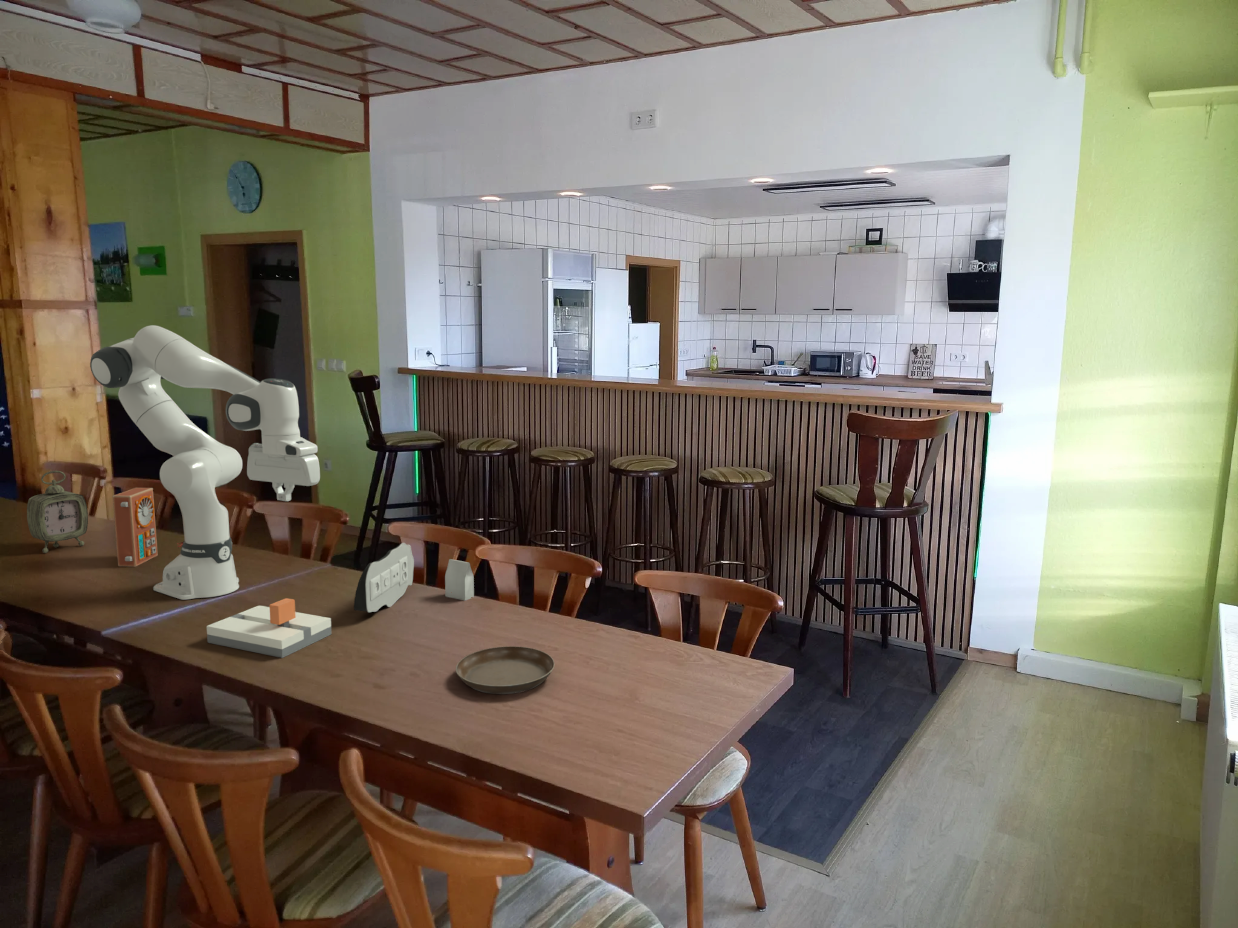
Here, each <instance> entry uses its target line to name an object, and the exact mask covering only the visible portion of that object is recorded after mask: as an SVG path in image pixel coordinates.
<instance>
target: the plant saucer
mask: <svg viewBox="0 0 1238 928" xmlns="http://www.w3.org/2000/svg"><path fill="white" fill-rule="evenodd" d="M555 666H556V665H555V660H554V658H553V657H552V656H551V655H550V654H548V653H547V652H545V651H542V650H540V649H536V648H533V647H526V646H514V645H513V646H512V645H510V646H507V645H506V646H496V647H489V648H485V649H480V650H477V651H474V652H472V653H470V654H467V655H466V656H464V657H462V658H461V659H460V660H459V661H458V662H457V664H456V666H455V672H456V674H457V676H458V677H459V678H460V680H461V681H462V682H463V683H465V684H466V685H467V686H468V687H470V688H471V689H473V690H475V691H478V692H481V693H483V694H484V693H485V694H492V695H493V694H494V695H512V694H519V693H523V692H527V691H530V690H532V689H534V688H536V687H538V686H540V685H541V684H542V683H543V682H545V681H546V679H547V678H549V677H550V676H551V673H552V672H553V670H554V668H555Z"/></svg>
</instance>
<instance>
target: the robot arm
mask: <svg viewBox="0 0 1238 928" xmlns="http://www.w3.org/2000/svg"><path fill="white" fill-rule="evenodd" d="M89 367H90V371H91V374H92V375H93V378H95V380H96V382H98V383H99V385H102V386H103V387H105V388H107V389H118V388H119V389H118V399H119V402H120V404H121V405H122V408H124V410H125V412H126V413H127V415H128V416H129V418H130V419H131V421H132V422H133V423H134V424H135V425H136V427H138V429H139V430H140V431H141V433H142V434H143V435H144V436H145V437H146V438H147V440H148V441H149V442H150V443H151V444H152V446H153V447H155V448H156V449H157V450H159V451H161V452H164V453H167V454H169V455H172V457H170V458H168V459H167V460H166V461H165V462H163V463H162V465H161V467H160V469H159V480H160V482H161V484H162V486H163V488H164V489H165V490H166V491H168V492H170V493H171V494H172V495H173V496H174V498H175V499H176V501H177V504H178V505H179V509H180V512H181V515H182V524H183V535H184V540H183V541H181V542H177V543H176V544H177V548H180V554H179V555H178V556H176V557H175V558H174V559H173V560H171V561H170V562H169V563H168V564H167V565H165V567H164V568H163V571H162V581H159V583H156V584H155V585H154V586H153V587H152V589H153V591H154V592H158V593H160V594H164V595H167V596H169V597H172V598H175V599H176V598H177V599H179V600H181V601H182V600H191V599H200V598H201V599H202V598H203V599H204V598H213V597H219V596H224V595H228V594H230V593H233V592H235V591H237V590H239V588H240V584H239V582H240V579H239V577H238V576H237V571H236V567H235V561H234V556H233V554H232V551H233V542H232V541H233V540H232V538H231V535H230V523H229V520H230V519H229V511H228V509H227V507H225V506H224V505H223V504H221V503H220V501H219V500H218V497H217V494H216V489H215V488H216V487H221V486H224V485H227V484H228V483H230V482H231V481H233V480H235V478H237V477H238V476H239V475H240V474H241V472H242V469H243V459H242V457H241V454H240V453H239V452H238V451H237V450H236V449H235V448H233V447H231V446H229V445H226V444H224V443H221V442H219V441H218V440H216V439H215V438H213V437H212V436H211V435H209V434H208V433H206V432H205V431H203V430H202V428H199V427H198V426H197V425H196V424H195V423H193V421H192V420H190V418H189V417H188V416H187V415H186V414H185V412H183V410H182V408H180V407H179V405H178V404H176V402H175V401H174V400H173V399H172V397H171V396H170V395H168V394H167V392H166V391H165V389H164V388H163V386H162V383H161V380H166V381H167V382H170V383H172V384H174V385H176V386H179V387H182V388H188V389H189V388H190V389H191V388H192V389H212V390H220V391H225V392H228V393H230V394H232V395H231V396H230V397H229V398H228V400H227V402H226V405H225V416H226V419H227V421H228V422H229V425H231V426H232V427H233V428H234V429H235V430H238V431H245V432H247V431H248V432H249V431H250V432H251V431H255V430H260V431H261V443H259V442H254V443H252V444H251V445H250V446H249V448H248V456H247V466H246V475H247V477H248V479H249V480H250V481H251V480H252V481H259V482H269V483H272V485H271V486H272V488H273V490H274V492H275V493H276V499H277V501H283V502H289V501H291V500H292V493H293V491H294V488H295V486H303V487H305V486H306V487H310V486H311V487H312V486H315V485H317V484H319V482H320V479H321V469H320V462H319V461H320V460H319V458H318V456H317V455H316V454H317V453H318V449H319V448H318V445H317V444H315V443H313V442H311V441H309V440H307V439H305V438H303V436H302V437H301V430H300V427H299V418H300V406H299V397H298V391H297V388H296V386H295V385H294V383H292V382H291V381H290V380H288V379H282V378H265V379H262V380H261V381H259V380H258V379H256V378H255V377H253V376H251V375H249V374H247V373H246V372H244V371H242V370H240V369H238V368H236V367H235V366H232V365H231V364H229V363H227V362H224V361H222V360H221V359H219V358H217V357H215V356H213V355H211V354H210V353H208V352H206V351H205V350H203V349H201V348H199V347H198V346H196V345H194V344H193V343H192V342H191V341H189V340H187V339H185V338H184V337H183V336H181V335H179V334H177V333H175V332H173V331H171V330H170V329H167V328H164V327H162V326H160V325H155V324H154V325H153V324H152V325H146V326H144V327H142V328H141V329H139V330H138V331H137V332H136V334H135V336H134V337H131V338H128V339H124V340H123V341H120V342H116V343H114V344H112V345H109V346H105V347H103V348H100V349H99V350H96V351H95V352H94V353H93V354H92V355H91V357H90V363H89ZM283 487H284V488H285V489H283Z"/></svg>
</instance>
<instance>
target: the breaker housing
mask: <svg viewBox="0 0 1238 928" xmlns="http://www.w3.org/2000/svg"><path fill="white" fill-rule="evenodd" d="M295 616H296V618H294V619H292V620H289V628H286V627H281V626H277V624H272V623H270V606H266V605H257V606H254V607H251V608H248V609H247V610H244V611H241V612H238V613H236V614H233V615H230V616H229V617H228V616H227V617H226V618H224V619H221V620H219V621H215V622H213V623H211V624H208V625H206V635H207V637H206V638H207V639H206V640H207V643H209V644H213V645H217V646H223V647H227V648H233V649H238V650H243V651H247V652H252V653H256V654H262V655H267V656H272V657H276V658H280V659H281V658H282V659H283V658H285V657H287V656H289V655H291V654H294V653H296V652H297V651H300V650H301V649H304V648H306V647H308V646H310V645H312V644H314V643H317V642H319V641H321V640H322V639H325V638H326V637H327V638H328V637H329V636H330V635H332V618H331V617H325V616H320V615H315V614H309V613H303V612H298V611H295Z"/></svg>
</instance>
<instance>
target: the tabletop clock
mask: <svg viewBox="0 0 1238 928" xmlns="http://www.w3.org/2000/svg"><path fill="white" fill-rule="evenodd" d="M49 474H61V475H62V476H63V478H61V480H58V481H57V480H56V479H52V480H51V482H50V481H48V482H47V481H44V478H45V476H47V475H49ZM66 477H67V476H66V474H65V473H64V472H63V471H62V470H61V471H60V470H50V471H47V472H45V473H44V474H43V475H42V476H41V479H40V480H41V482H42V483H43V484H45V485H48V486H47V488H46V489H45V491H44V493H40V494H37V495H34V496H31V497H30V498H29V499H28V501H27V504H26V520H27V526H28V530H29V532H30V533H29V534H30V535H31V536H32V538H35V539H37V540H41V541H44V548H42V550H41V551H42V553H43V554H47V553H48V552H49V548H48V545H49V542H51V543H52V542H54V543H53V544H52V547H54V548H55V549H56V548H59V546H60V544H59V542H61V541H69V540H70V539H75V541H77V542H78V546H80V547H83V546H84V545H85V541H83V540H80V538H79V537H82V536H83V535H85V534H86V533H87V531H88V527H89V514H88V513H89V512H88V506H87V503H86V502H87V501H86V499H85V497H84V495H82V494H79V493H75V492H71V491H66V490H65V489H64V488H63V486H62V485H59V484H61V483H63V482H64V481H65V479H66Z"/></svg>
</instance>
